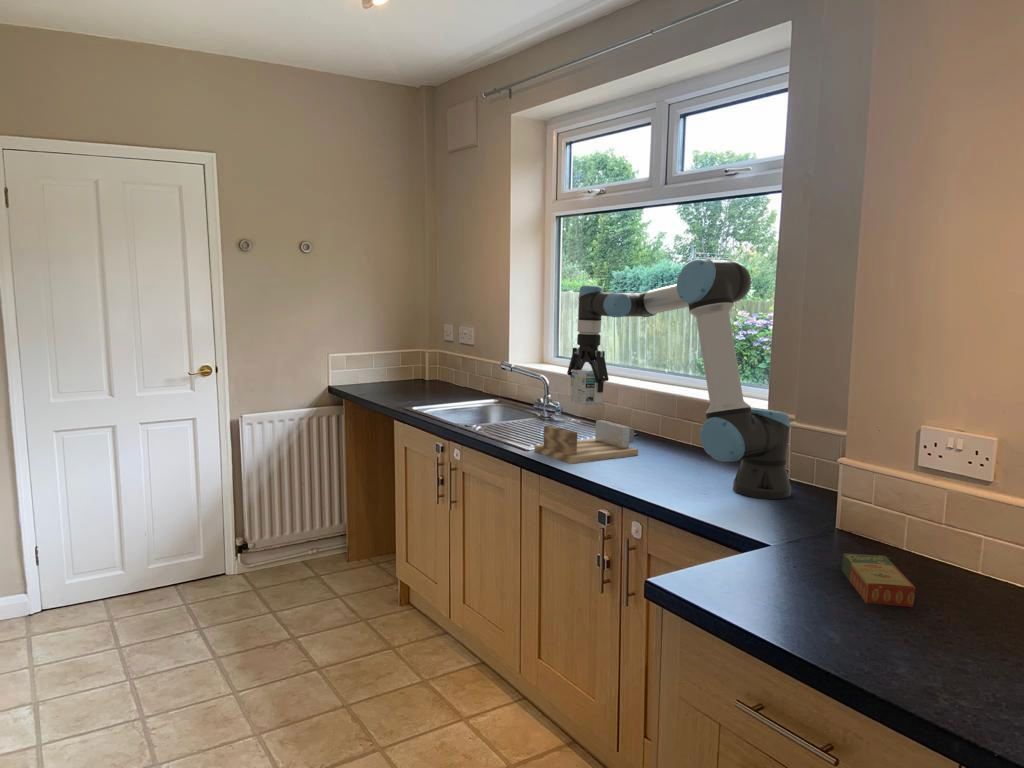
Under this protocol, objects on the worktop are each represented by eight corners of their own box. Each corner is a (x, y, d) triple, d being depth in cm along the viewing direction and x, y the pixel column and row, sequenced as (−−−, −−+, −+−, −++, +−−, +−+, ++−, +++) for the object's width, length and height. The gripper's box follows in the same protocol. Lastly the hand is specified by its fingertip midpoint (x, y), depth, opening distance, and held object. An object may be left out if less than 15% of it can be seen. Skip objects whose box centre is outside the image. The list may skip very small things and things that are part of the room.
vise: (637, 455, 247) (639, 428, 246) (570, 463, 232) (571, 435, 231) (599, 443, 264) (600, 418, 263) (534, 451, 249) (535, 424, 248)
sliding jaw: (644, 445, 252) (645, 425, 251) (622, 448, 247) (623, 427, 246) (617, 438, 264) (618, 418, 263) (595, 440, 259) (596, 420, 258)
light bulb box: (603, 405, 242) (604, 372, 240) (584, 406, 239) (585, 372, 238) (587, 400, 251) (589, 368, 250) (569, 401, 249) (571, 369, 248)
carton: (864, 604, 133) (866, 582, 133) (840, 571, 149) (842, 551, 148) (914, 609, 132) (916, 585, 131) (884, 575, 148) (886, 554, 147)
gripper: (621, 335, 234) (618, 404, 237) (576, 330, 254) (573, 394, 257) (603, 336, 230) (600, 405, 233) (558, 331, 250) (555, 395, 253)
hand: (586, 399), depth 245 cm, fingers closed on light bulb box, 11 cm apart
